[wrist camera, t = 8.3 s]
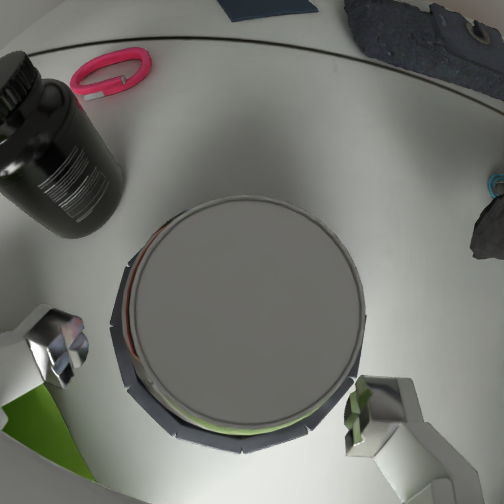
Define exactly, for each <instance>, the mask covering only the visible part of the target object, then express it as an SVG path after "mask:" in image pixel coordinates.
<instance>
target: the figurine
mask: <svg viewBox="0 0 504 504" xmlns="http://www.w3.org/2000/svg"><path fill="white" fill-rule="evenodd" d="M500 182H502V183H504V175H501V174H495V175H493V176H491V177H490V179H489V182H488V187H489V191H490V193H491V195H492V197H493V198H494V199H493V200H492V202H491V203H490V204H489V205H488V206H487V207H486V208H485V209H484V210H483V211H482V213H481V214H480V217H479V219H478V220H477V221H476V223H475V227H474V232H473V236H472V240H471V245H470V249H471V250H472V251H473V253H474V254H473V257H474V258H476V259H478V260H479V259H487V258H497V259H501V260H504V194H503V193H502V195H500V194H499V193H498V191H497V184H498V183H500Z"/></svg>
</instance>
